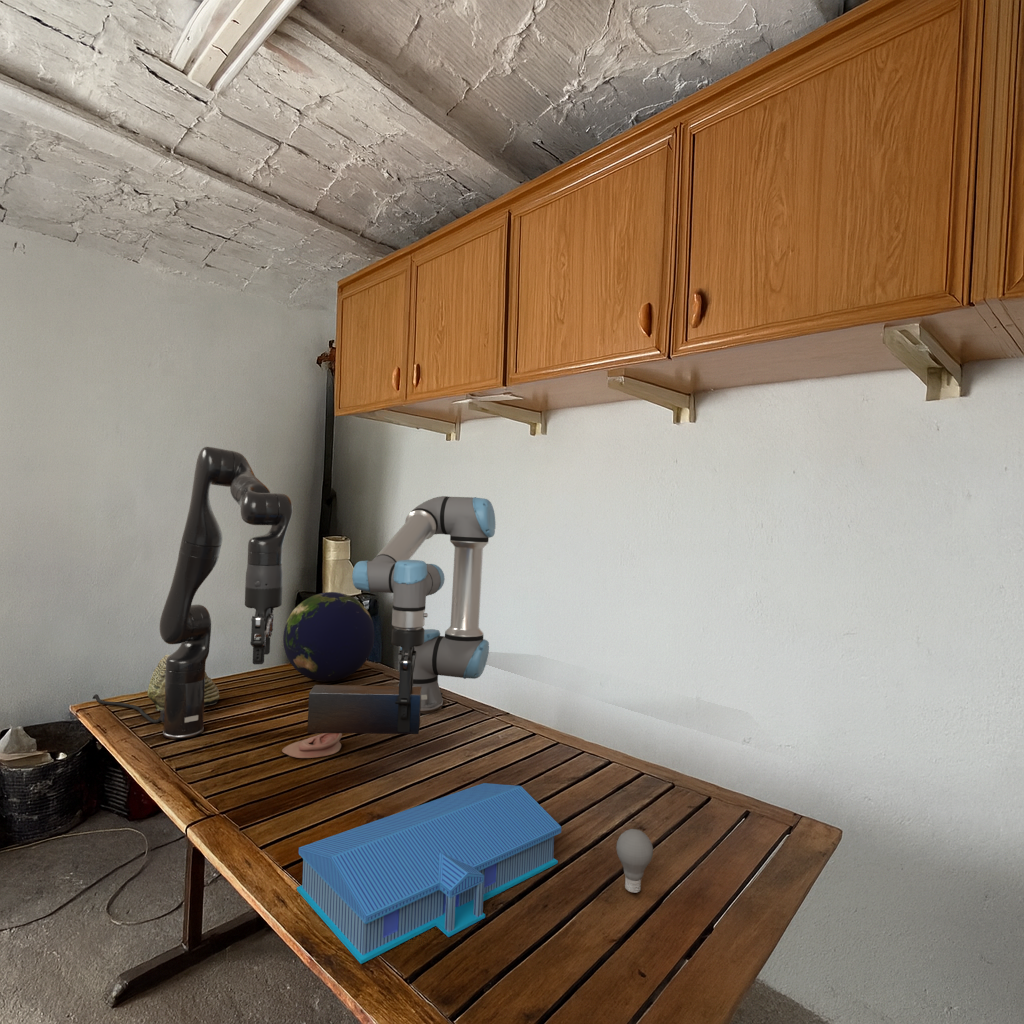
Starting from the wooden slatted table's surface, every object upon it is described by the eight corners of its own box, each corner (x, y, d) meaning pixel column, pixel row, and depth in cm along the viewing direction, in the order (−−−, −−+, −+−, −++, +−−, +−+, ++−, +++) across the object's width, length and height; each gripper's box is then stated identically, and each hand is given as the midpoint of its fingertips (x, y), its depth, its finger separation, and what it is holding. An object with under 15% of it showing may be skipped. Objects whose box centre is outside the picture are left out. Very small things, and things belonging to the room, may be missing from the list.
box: (307, 733, 142) (308, 693, 142) (313, 723, 148) (314, 684, 148) (418, 734, 145) (420, 694, 144) (420, 724, 151) (421, 686, 151)
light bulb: (610, 879, 108) (613, 822, 108) (644, 879, 109) (647, 822, 109) (619, 902, 102) (622, 840, 102) (655, 901, 103) (658, 840, 103)
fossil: (144, 707, 182) (145, 655, 182) (212, 696, 194) (213, 647, 194) (151, 716, 175) (153, 662, 175) (221, 703, 188) (223, 653, 188)
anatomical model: (275, 738, 153) (300, 722, 164) (275, 755, 153) (300, 738, 164) (326, 745, 150) (348, 728, 162) (325, 762, 151) (347, 744, 162)
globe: (261, 684, 208) (265, 593, 208) (321, 664, 236) (324, 584, 236) (336, 698, 197) (339, 602, 197) (389, 675, 225) (393, 591, 224)
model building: (372, 977, 84) (375, 903, 84) (295, 888, 102) (297, 827, 102) (571, 871, 110) (574, 814, 110) (482, 815, 129) (484, 766, 128)
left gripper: (278, 589, 131) (275, 667, 132) (286, 580, 145) (283, 650, 146) (239, 589, 130) (236, 668, 130) (251, 580, 144) (248, 651, 144)
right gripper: (422, 636, 138) (418, 741, 138) (426, 619, 157) (422, 711, 157) (387, 636, 137) (383, 741, 138) (395, 618, 156) (392, 711, 157)
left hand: (261, 658), depth 138 cm, fingers open, 8 cm apart
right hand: (404, 725), depth 147 cm, fingers closed on box, 6 cm apart
